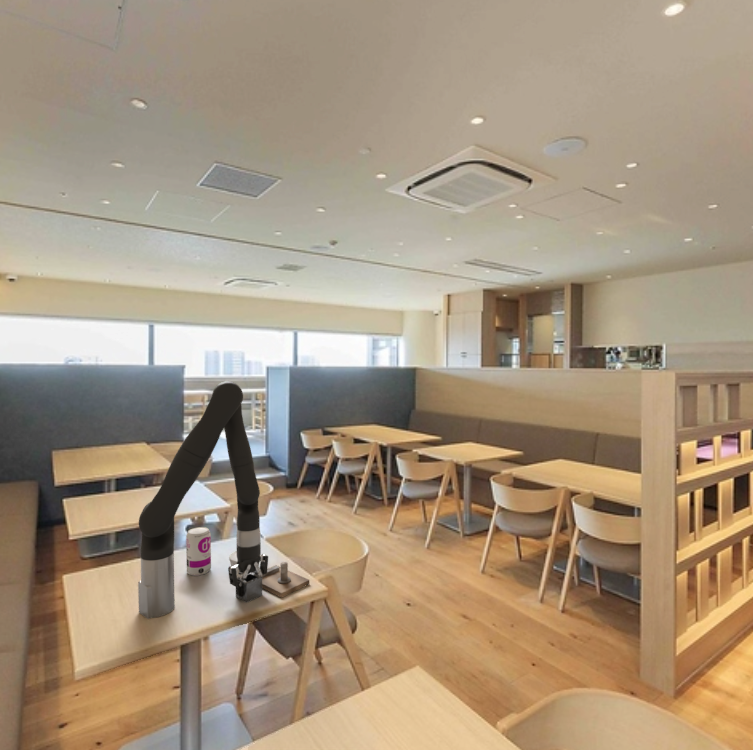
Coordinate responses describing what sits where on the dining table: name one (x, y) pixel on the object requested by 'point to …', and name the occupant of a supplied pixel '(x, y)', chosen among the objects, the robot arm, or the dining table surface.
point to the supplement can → (198, 551)
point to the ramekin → (234, 559)
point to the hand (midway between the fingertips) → (249, 592)
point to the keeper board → (283, 587)
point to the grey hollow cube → (251, 587)
